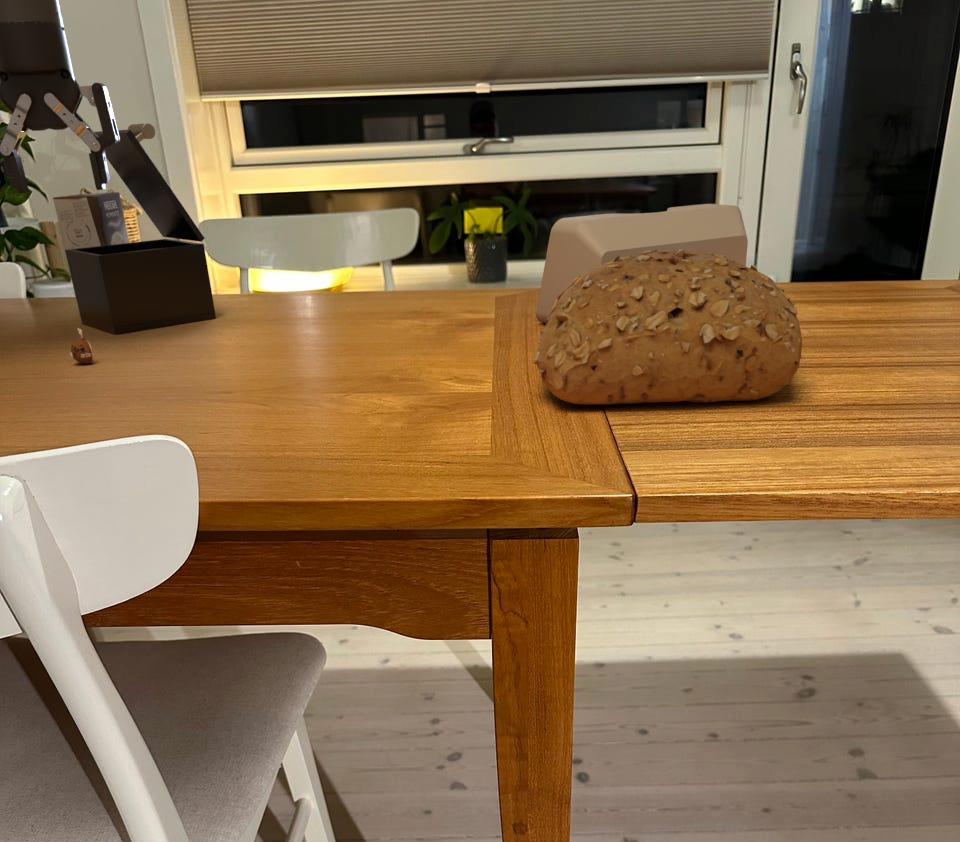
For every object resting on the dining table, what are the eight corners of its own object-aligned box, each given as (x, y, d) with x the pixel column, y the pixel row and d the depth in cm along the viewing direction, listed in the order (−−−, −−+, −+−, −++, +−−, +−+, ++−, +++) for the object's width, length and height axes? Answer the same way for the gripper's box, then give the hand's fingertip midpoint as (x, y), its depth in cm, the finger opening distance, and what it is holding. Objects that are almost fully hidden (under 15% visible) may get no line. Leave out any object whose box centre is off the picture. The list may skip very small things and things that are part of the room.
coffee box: (121, 315, 140) (95, 195, 133) (78, 317, 141) (50, 197, 133) (143, 304, 148) (120, 191, 141) (102, 306, 149) (77, 193, 141)
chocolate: (70, 363, 112) (62, 328, 110) (90, 360, 113) (81, 325, 111) (76, 367, 109) (67, 331, 107) (96, 364, 110) (88, 328, 109)
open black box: (115, 334, 127) (98, 255, 122) (82, 323, 135) (64, 249, 131) (216, 318, 135) (203, 243, 130) (178, 309, 143) (165, 238, 139)
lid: (125, 132, 119) (154, 109, 120) (89, 134, 128) (117, 113, 129) (201, 242, 130) (227, 219, 131) (162, 237, 138) (187, 216, 140)
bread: (756, 354, 101) (767, 232, 95) (819, 407, 82) (838, 259, 77) (526, 364, 101) (524, 242, 96) (537, 419, 83) (535, 272, 77)
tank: (607, 344, 109) (610, 225, 103) (533, 323, 121) (532, 216, 115) (771, 316, 119) (783, 207, 113) (688, 300, 131) (694, 201, 125)
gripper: (-59, 20, 96) (-13, 196, 104) (86, 15, 98) (121, 190, 105) (-35, 26, 103) (6, 192, 110) (101, 22, 104) (133, 186, 112)
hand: (62, 191), depth 108 cm, fingers open, 8 cm apart
